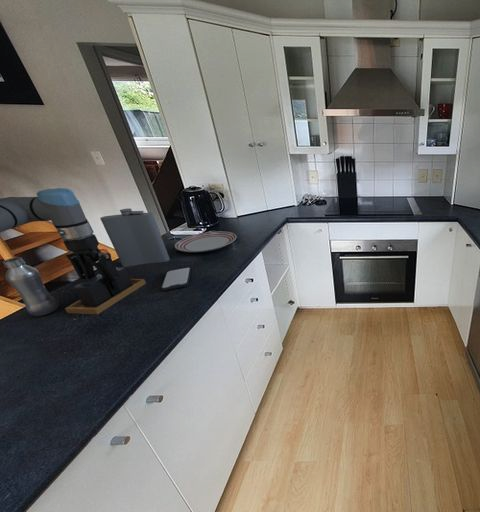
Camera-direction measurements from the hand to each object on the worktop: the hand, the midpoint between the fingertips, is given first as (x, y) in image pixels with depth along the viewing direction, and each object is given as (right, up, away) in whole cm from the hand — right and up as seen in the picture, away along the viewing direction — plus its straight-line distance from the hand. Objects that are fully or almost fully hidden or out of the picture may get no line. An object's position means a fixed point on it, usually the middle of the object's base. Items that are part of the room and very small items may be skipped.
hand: (109, 295), depth 100 cm
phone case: (+17, +4, +11) cm, 21 cm away
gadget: (0, 0, 0) cm, 0 cm away
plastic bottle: (-13, -5, -8) cm, 16 cm away
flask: (-8, +11, +25) cm, 28 cm away
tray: (0, -1, 0) cm, 1 cm away
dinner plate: (+9, +20, +42) cm, 48 cm away
